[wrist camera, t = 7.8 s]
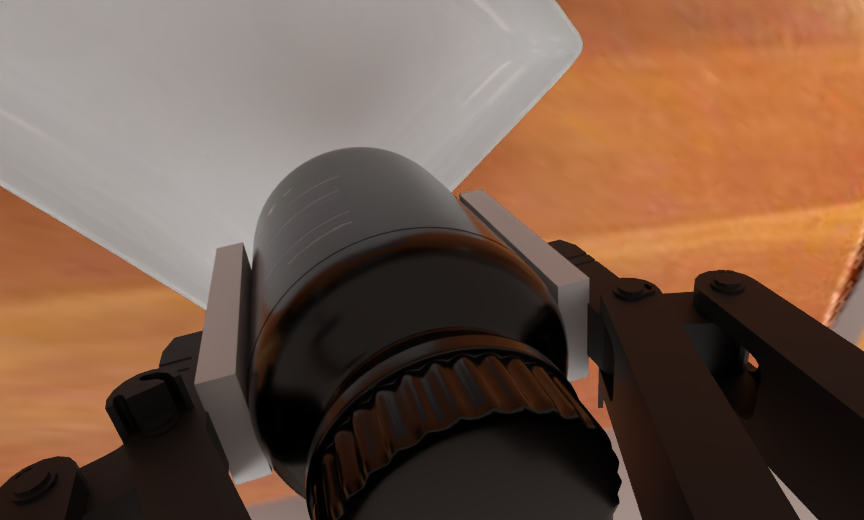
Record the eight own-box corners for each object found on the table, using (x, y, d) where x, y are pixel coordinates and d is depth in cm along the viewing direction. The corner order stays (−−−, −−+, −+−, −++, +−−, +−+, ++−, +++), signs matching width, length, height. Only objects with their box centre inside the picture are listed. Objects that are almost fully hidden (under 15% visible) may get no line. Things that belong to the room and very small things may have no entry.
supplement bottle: (488, 210, 19) (757, 449, 9) (378, 354, 21) (504, 709, 10) (328, 94, 16) (456, 256, 6) (209, 271, 17) (140, 667, 7)
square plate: (187, -450, 22) (172, -533, 19) (563, 44, 35) (595, 48, 32) (-168, 53, 26) (-234, 59, 22) (292, 338, 38) (294, 370, 35)
